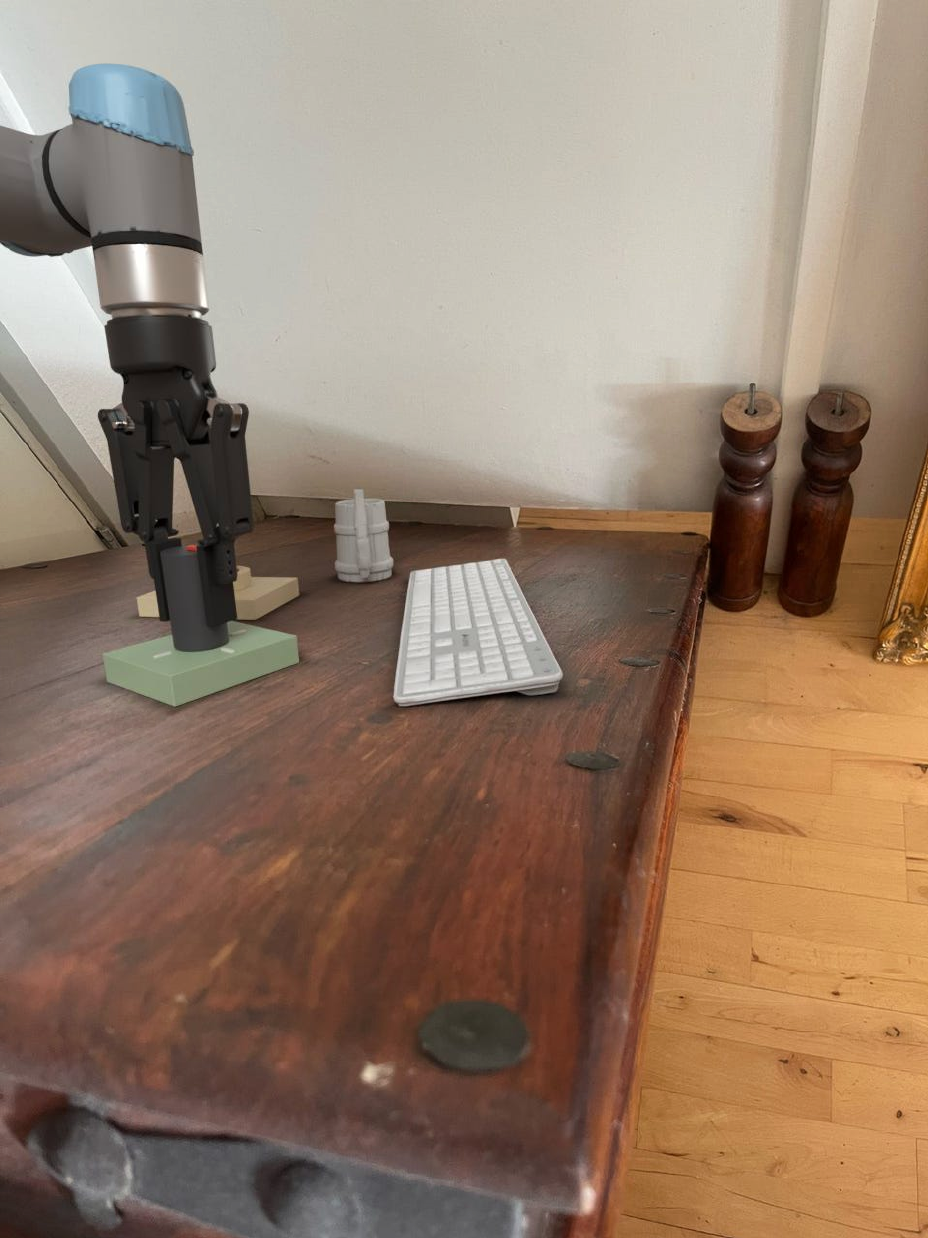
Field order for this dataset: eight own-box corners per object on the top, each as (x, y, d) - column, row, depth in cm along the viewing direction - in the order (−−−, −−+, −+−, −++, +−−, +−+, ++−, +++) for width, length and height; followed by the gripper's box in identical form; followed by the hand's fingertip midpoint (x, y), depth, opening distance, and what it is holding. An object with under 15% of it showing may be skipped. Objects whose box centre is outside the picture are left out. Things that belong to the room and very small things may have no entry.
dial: (163, 646, 62) (148, 547, 60) (208, 633, 65) (195, 539, 63) (194, 655, 59) (180, 552, 57) (240, 640, 63) (228, 543, 61)
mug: (392, 569, 102) (387, 480, 99) (397, 588, 91) (391, 489, 88) (336, 572, 102) (329, 483, 98) (334, 592, 90) (325, 492, 87)
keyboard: (410, 579, 96) (409, 561, 95) (506, 575, 96) (506, 557, 96) (392, 710, 53) (390, 679, 53) (564, 701, 54) (564, 671, 53)
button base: (139, 616, 82) (133, 581, 81) (194, 593, 92) (190, 561, 91) (255, 620, 79) (251, 583, 78) (299, 595, 89) (296, 562, 88)
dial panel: (106, 682, 61) (101, 651, 61) (230, 644, 71) (226, 617, 70) (174, 707, 55) (169, 673, 55) (299, 662, 65) (296, 633, 64)
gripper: (284, 312, 55) (312, 617, 61) (117, 331, 62) (157, 601, 69) (210, 301, 49) (250, 642, 55) (34, 323, 56) (86, 622, 62)
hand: (198, 619), depth 62 cm, fingers closed on dial, 4 cm apart
